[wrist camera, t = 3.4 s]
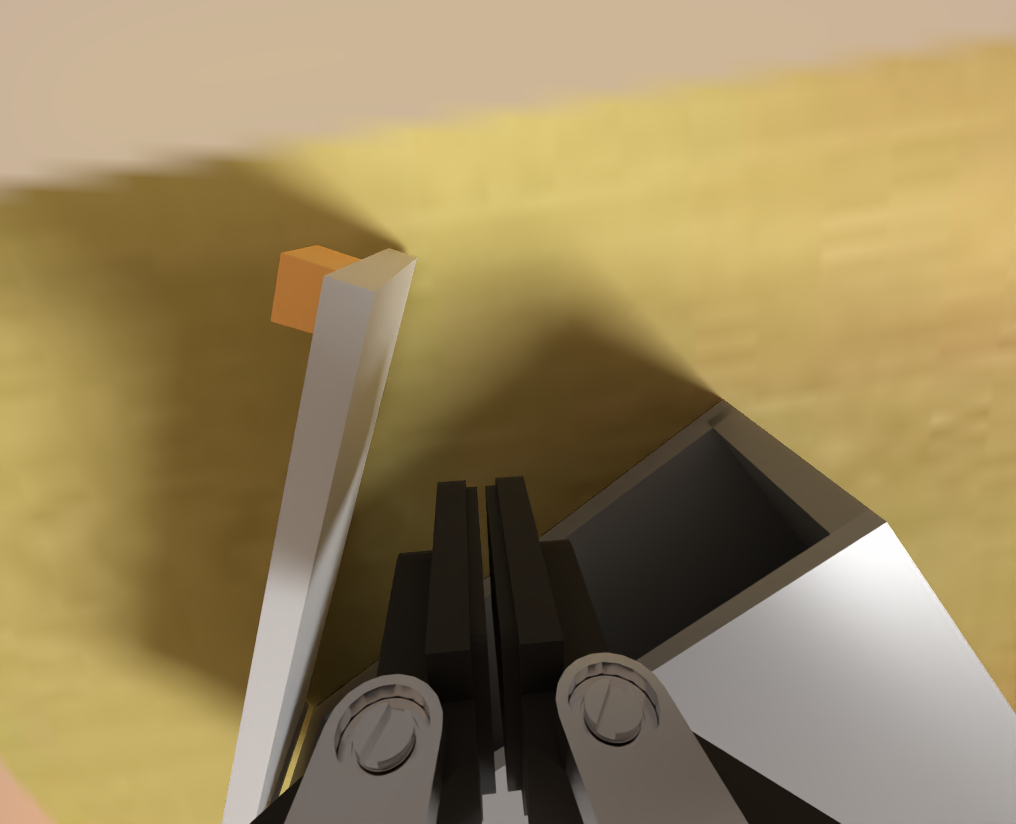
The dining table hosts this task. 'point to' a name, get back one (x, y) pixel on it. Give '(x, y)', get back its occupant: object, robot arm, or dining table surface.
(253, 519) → the dining table surface
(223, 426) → the dining table surface
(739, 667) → the case
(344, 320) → the case door
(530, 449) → the dining table surface
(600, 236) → the dining table surface
